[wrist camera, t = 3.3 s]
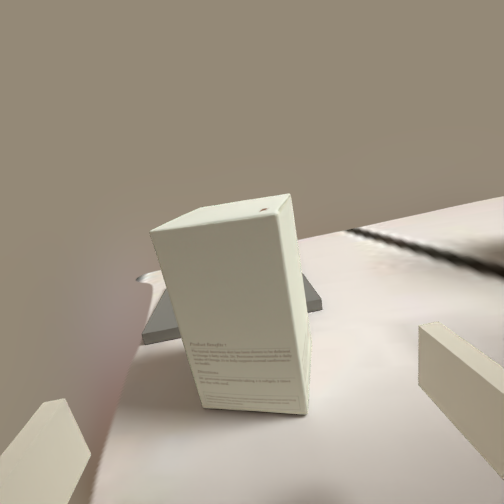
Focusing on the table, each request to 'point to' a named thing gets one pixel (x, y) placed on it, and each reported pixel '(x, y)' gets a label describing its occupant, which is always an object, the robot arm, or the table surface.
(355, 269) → the table surface
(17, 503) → the robot arm
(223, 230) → the supplement box
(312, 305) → the charging pad
